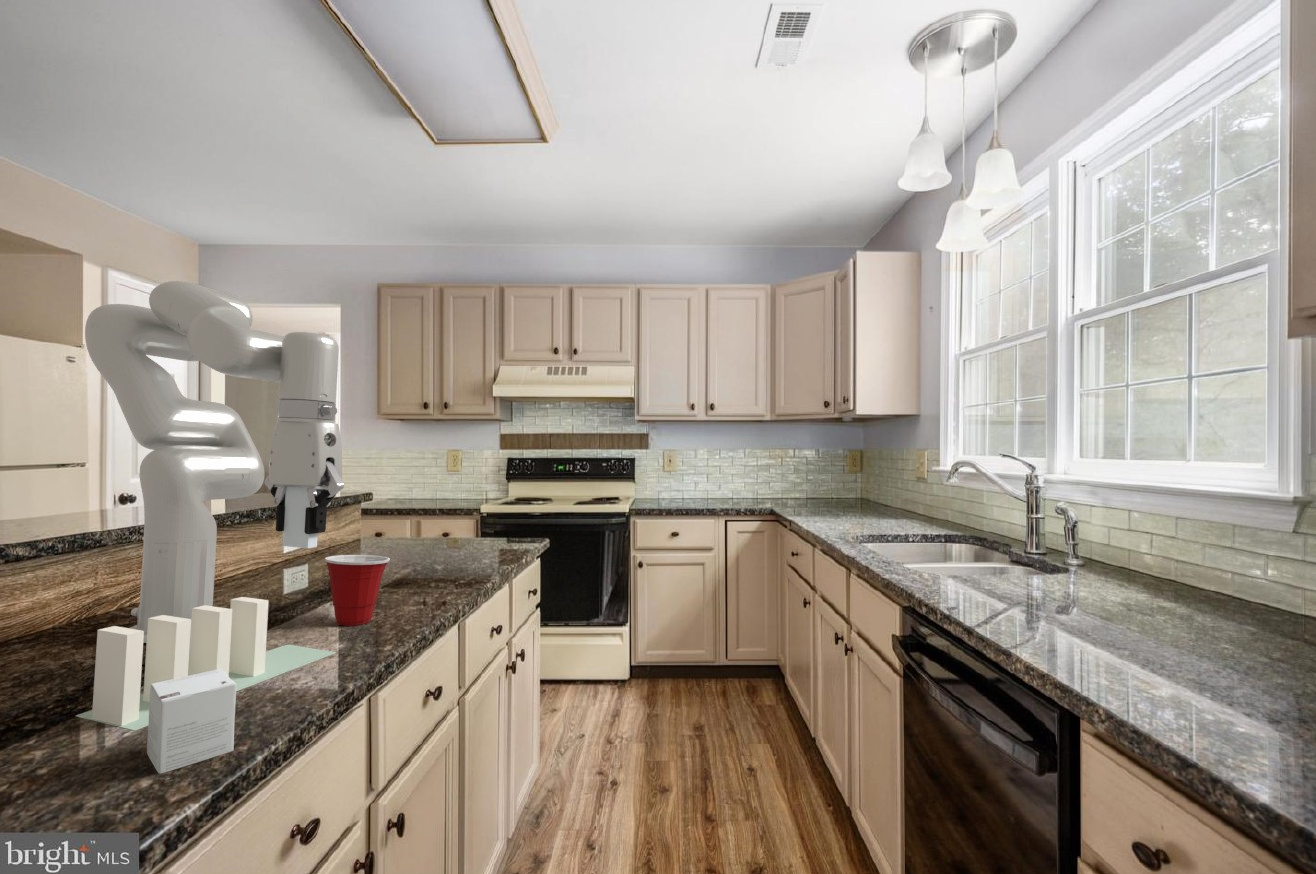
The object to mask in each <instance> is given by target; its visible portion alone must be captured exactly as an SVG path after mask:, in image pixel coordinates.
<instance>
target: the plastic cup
mask: <svg viewBox="0 0 1316 874" xmlns="http://www.w3.org/2000/svg"><path fill="white" fill-rule="evenodd" d="M390 560H391V558H390V557H388V556H383V555H382V556H381V555H372V554H341V555H340V554H338V555H331V556H330V555H329V556H326V557H324V561H325V562H326V565H327V570H328V576H329V581H330V582H329V584H330V591H331V598H332V599H331V600H332V606H333V608H334V609H333V611H334V619H335V621H336V624H337V625H338V626H342V625H343V627H345V626H347V627H348V626H350V627H351V626H352V627H353V626H360V625H364V624H367V623H370V622H371V620H372V618H373V617H374V611H375V606H376V602H377V599H378V594H379V591H380V590H379V589H380V586H381V581H382V578H383V577H382V576H383V575H384V572H385V570H386V566H387V565H388V563H389V562H390Z"/></svg>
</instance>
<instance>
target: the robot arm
mask: <svg viewBox="0 0 1316 874" xmlns="http://www.w3.org/2000/svg"><path fill="white" fill-rule="evenodd" d="M148 304H149V307H144V306H140V305H134V304H125V303H109V304H104V305H103V304H102V305H100V306H98V307H96V308H94V309H93V310H92V311H90V313H89V315H88V316H87V319H86V321H85V322H86V323H85V327H84V339H85V346H86V350H87V353H88V355H89V357H90V359H91V362H92V363H93V364H94V366H95V368H96V369H97V371H98V372H99V374H100V375H101V376H102V377H103V378H104V380H105V381H106V383H107V384H108V385H109V387H110V388H111V389H112V391H113V393H114V395H115V397H116V400H117V403H118V405H119V407H120V409H121V412H122V414H123V416H124V419H125V421H126V423H127V425H128V427H129V430H130V433H131V434H132V436H133V438H134V439H135V441H137V443H138V444H139V445H140V446H142V447H143V448H146V449H149V450H152V451H150V452H149V453H148V454H146V455H145V456H144V457H143V459H142V460H141V463H140V465H139V475H138V476H139V482H140V487H141V493H142V498H143V499H142V500H143V509H144V511H143V515H144V516H143V517H144V518H143V519H144V523H143V525H144V526H143V527H144V528H143V541H142V542H143V544H142V545H143V549H142V562H141V563H142V565H141V577H140V578H141V579H140V595H139V596H140V597H139V605H137V606H138V607H134V608H132V610H131V611H130V614H131V616H134V617H137V621H136V622H137V624H135V625H133V626H131V627H129V628H130V629H136V630H142V631H144V639H143V644H147V629H148V618H152V617H156V616H160V615H167V616H173V617H180V618H186V619H191V620H192V608H195V607H200V606H204V605H207V606H213V605H214V592H215V591H214V589H215V588H214V587H215V572H216V556H217V553H216V552H217V536H218V533H217V532H218V527H217V522H216V519H215V517H214V516H213V514H212V513H211V511H210V510H209V509H208V507H207V506H206V504H205V503H204V501H210V500H211V501H212V500H230V499H240V498H242V499H243V498H247V497H250V496H252V495H255V494H256V493H257V492H258V491H259V490H260V489H261V488H262V486H263V484H264V485H265V486H266V487H267V488H268V490H269V491H270V493H271V495H272V497H273V503H274V505H275V506H276V518H275V519H276V521H275V531H276V532H279V533H280V532H281V533H282V532H283V531H284V520H285V494H286V489H287V486H290V487H307V493H308V499H309V505H310V507H306V513H305V534H315V533H318V534H320V533H325V532H326V531H327V530H326V529H327V516H328V515H327V512H328V510H327V509H328V507H330V506H331V504H332V501H333V499H334V498H335V497H336V495H337V494H338V493H340V491H342V490H343V489H344V487H345V483H344V481H343V480H342V478H343V444H342V436H341V431H340V427H339V426H340V425H339V423H335V422H336V415H337V413H338V409H337V407H336V405H337V389H338V388H337V385H338V371H339V370H338V366H339V345H338V342H337V340H335V338H333V337H331V336H329V335H324V334H321V333H316V332H306V331H293V332H288V333H286V334H285V336H282V335H278V334H274V333H270V332H265V331H261V330H257V329H252V328H251V327H252V324H253V313H252V310H251V307H250V306H249V304H248V303H247V302H246V301H245V300H244V299H242V298H241V297H240V296H237V295H235V294H232V293H230V292H229V293H228V292H226V291H222V290H218V289H214V288H210V287H207V286H203V285H200V284H196V283H192V282H189V281H179V280H173V281H172V280H171V281H166V282H163V283H160V284H159V285H157V286H155V287H154V288H152V290H151V291H150V294H149V297H148ZM149 356H151V357H157V358H164V359H172V360H178V361H183V362H184V361H185V362H200V363H202V364H204V365H205V366H207V367H208V368H211V369H212V370H214V371H215V372H218V373H221V374H223V375H226V376H229V377H235V378H243V379H249V380H250V379H251V380H256V381H257V380H258V381H264V382H271V383H278V384H279V386H278V388H279V390H278V405H277V406H278V409H277V421H276V422H275V423H276V424H275V427H274V430H273V431H274V432H273V436H272V441H271V447H270V455H269V463H268V467H269V468H268V475H267V476H266V477H265V465H264V463H263V459H262V458H261V455H260V453H259V451H258V449H257V447H256V445H255V443H254V441H253V438H252V437H251V434H250V432H249V431H248V429H247V426H246V425H245V423H244V421H243V419H242V418H241V416H240V414H239V413H238V412H237V411H235V409H233V408H232V407H230V406H229V405H226V404H223V403H220V402H216V401H215V402H214V401H207V400H206V401H205V400H196V399H191V398H188V397H186V396H184V395H183V394H182V392H181V390H180V389H179V387H178V385H177V382H176V380H175V379H174V378H173V376H172V375H171V374H170V373H169V372H168V371H167V370H166V369H165V368H164V367H163V366H161V365H160V364H159V363H157V362H156V361H154V360H153V359H151V358H150V357H149ZM319 484H320V486H318V485H319ZM317 491H320V494H319V495H318V496H317ZM190 637H191V632H190Z"/></svg>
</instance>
